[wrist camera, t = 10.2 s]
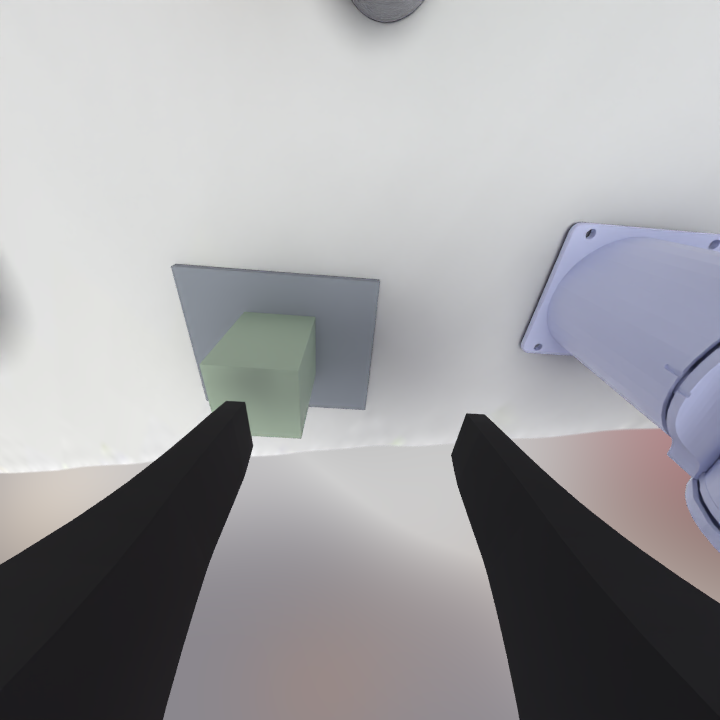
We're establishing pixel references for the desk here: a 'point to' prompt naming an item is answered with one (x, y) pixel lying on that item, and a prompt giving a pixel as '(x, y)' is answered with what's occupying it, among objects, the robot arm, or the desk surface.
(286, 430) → the green block
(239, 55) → the desk surface
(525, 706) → the robot arm
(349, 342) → the mat
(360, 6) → the metal cylinder
